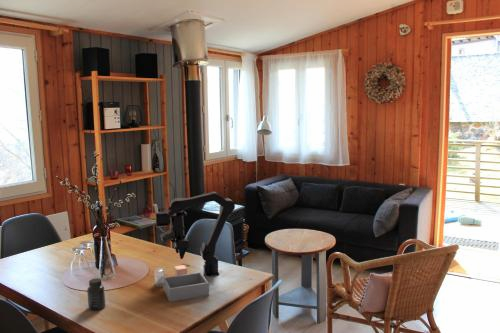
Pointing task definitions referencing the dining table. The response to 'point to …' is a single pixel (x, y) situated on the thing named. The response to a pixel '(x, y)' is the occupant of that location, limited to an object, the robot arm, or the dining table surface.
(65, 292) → the dining table surface
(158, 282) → the aluminium cylinder
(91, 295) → the supplement bottle
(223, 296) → the dining table surface
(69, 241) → the dining table surface
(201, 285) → the tote
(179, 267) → the terracotta cube
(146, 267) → the dining table surface
